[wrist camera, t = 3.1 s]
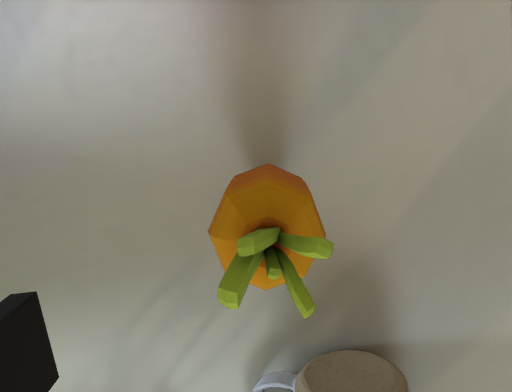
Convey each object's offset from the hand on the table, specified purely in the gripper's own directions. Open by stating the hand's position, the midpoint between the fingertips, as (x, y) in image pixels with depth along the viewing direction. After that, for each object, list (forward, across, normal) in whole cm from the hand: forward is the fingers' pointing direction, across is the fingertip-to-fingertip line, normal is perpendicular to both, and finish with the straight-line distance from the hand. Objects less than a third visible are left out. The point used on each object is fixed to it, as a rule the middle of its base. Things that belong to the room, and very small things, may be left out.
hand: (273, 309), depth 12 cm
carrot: (+17, 0, 0) cm, 17 cm away
